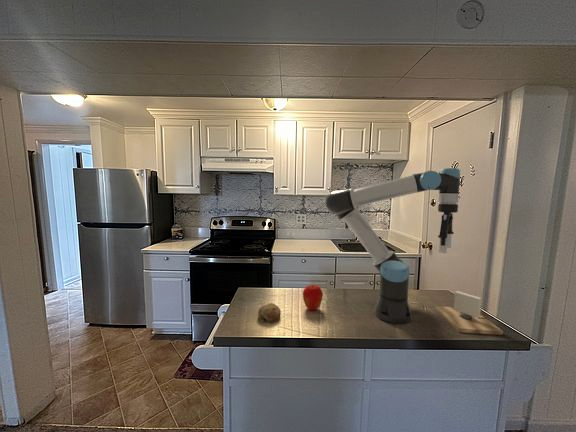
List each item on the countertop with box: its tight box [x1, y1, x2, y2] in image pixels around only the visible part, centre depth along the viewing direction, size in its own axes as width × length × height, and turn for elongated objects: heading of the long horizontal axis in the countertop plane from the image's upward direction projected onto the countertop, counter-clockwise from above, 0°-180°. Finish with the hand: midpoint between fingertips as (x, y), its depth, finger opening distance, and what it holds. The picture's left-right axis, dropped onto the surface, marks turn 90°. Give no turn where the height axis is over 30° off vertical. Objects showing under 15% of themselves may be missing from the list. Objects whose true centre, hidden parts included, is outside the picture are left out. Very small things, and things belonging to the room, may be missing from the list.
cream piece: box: [453, 290, 482, 320], centre depth 111 cm, size 10×9×10 cm
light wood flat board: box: [435, 305, 504, 336], centre depth 110 cm, size 16×20×2 cm
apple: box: [302, 284, 324, 312], centre depth 119 cm, size 9×9×12 cm
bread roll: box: [257, 302, 281, 324], centre depth 111 cm, size 10×10×8 cm
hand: (445, 250), depth 117 cm, fingers open, 13 cm apart
